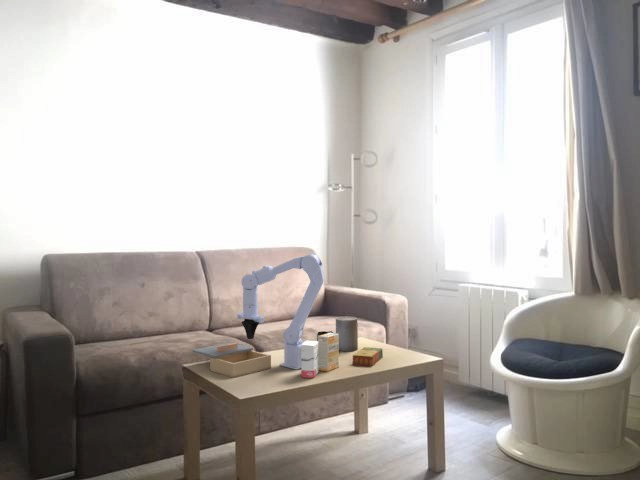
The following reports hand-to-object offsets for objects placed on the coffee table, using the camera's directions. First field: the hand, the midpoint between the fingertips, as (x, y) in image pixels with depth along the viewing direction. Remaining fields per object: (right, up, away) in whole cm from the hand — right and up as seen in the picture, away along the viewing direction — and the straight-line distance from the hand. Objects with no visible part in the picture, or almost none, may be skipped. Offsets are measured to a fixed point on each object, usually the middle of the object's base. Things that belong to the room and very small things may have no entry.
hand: (250, 338), depth 219 cm
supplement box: (+31, -10, -7) cm, 33 cm away
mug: (+30, -10, +7) cm, 32 cm away
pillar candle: (+39, -9, +27) cm, 48 cm away
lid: (-11, -5, -1) cm, 12 cm away
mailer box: (-3, -10, -8) cm, 13 cm away
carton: (+47, -10, +5) cm, 48 cm away
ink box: (+24, -11, -15) cm, 30 cm away
